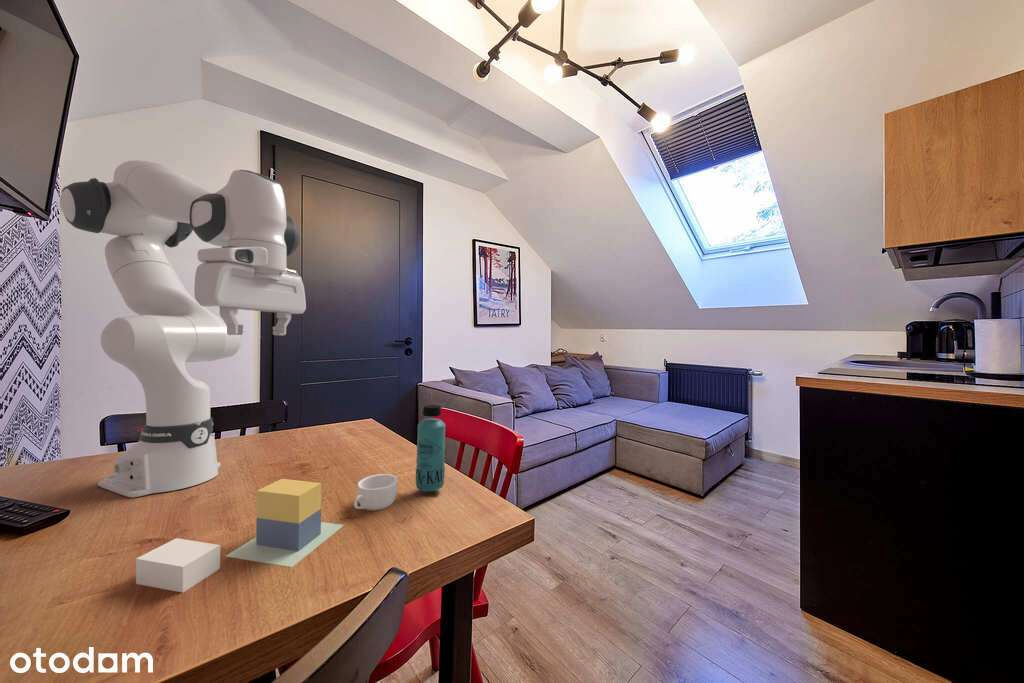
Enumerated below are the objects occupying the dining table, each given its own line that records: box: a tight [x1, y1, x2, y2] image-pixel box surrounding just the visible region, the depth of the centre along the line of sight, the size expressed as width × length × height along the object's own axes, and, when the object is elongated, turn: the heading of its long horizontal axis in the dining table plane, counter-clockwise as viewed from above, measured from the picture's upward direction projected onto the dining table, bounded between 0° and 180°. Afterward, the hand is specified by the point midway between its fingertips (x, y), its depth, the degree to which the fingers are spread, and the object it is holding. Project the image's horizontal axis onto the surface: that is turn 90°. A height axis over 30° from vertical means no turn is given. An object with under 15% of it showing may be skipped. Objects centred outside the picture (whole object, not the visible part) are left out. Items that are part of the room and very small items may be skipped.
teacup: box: [353, 473, 398, 511], centre depth 72 cm, size 10×8×5 cm
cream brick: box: [135, 537, 221, 593], centre depth 50 cm, size 8×5×4 cm, turn 80°
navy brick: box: [255, 508, 322, 551], centre depth 60 cm, size 8×5×4 cm, turn 80°
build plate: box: [225, 521, 345, 568], centre depth 60 cm, size 12×12×1 cm
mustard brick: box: [256, 478, 322, 524], centre depth 60 cm, size 8×5×4 cm, turn 80°
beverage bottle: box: [415, 404, 446, 492], centre depth 81 cm, size 6×7×20 cm
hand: (258, 335), depth 66 cm, fingers open, 8 cm apart
